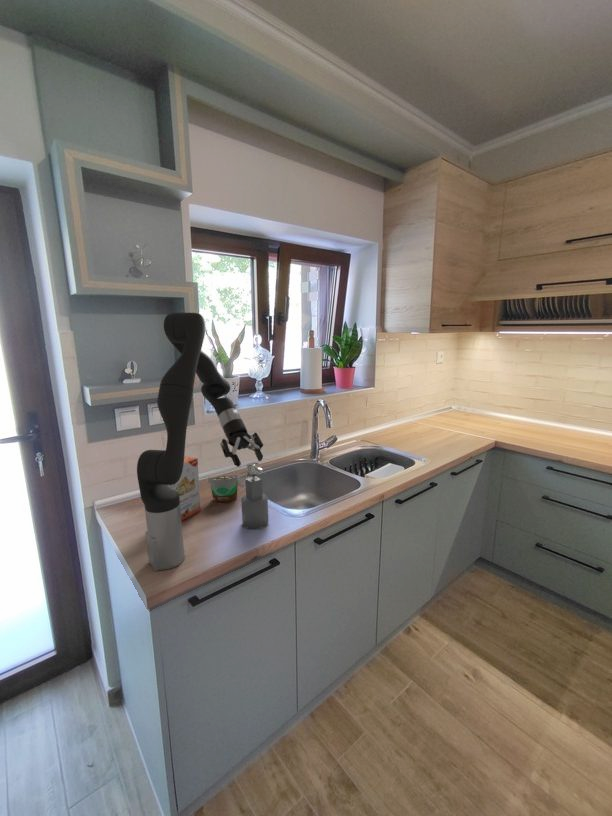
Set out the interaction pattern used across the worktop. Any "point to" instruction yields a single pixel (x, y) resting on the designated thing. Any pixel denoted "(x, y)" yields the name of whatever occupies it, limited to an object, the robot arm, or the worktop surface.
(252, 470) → the pump head
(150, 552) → the robot arm
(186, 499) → the cracker box
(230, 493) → the food container
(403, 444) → the worktop surface
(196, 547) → the worktop surface
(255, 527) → the soap bottle
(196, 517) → the worktop surface
